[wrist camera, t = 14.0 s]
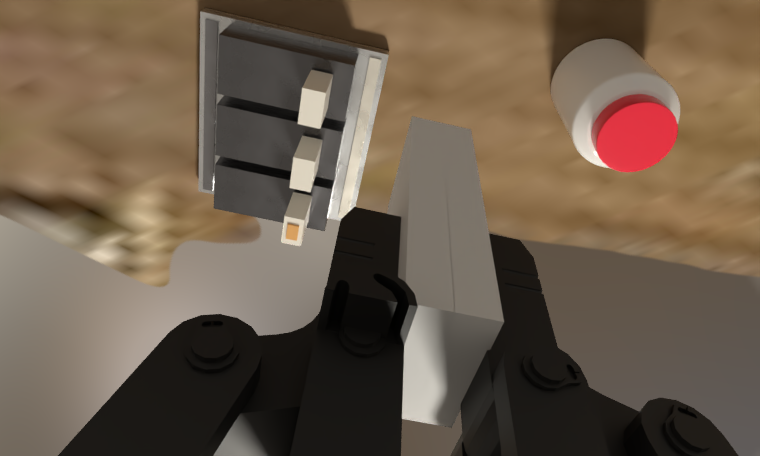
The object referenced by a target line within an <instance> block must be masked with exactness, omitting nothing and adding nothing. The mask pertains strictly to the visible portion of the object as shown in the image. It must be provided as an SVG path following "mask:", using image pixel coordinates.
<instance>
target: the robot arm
mask: <svg viewBox="0 0 760 456" xmlns="http://www.w3.org/2000/svg"><path fill="white" fill-rule="evenodd" d="M460 410H461V419H462V435H461V437H460V439H459V440H458V442H457V444H456V446H455V448H454V450H453V452H452V454H451V456H738V455H737V453H736V452H735V451H734V449H733V448H732V446H731V445H730V444H729V442H728V441H727V440H726V438H725V437H724V436H723V434H722V433H721V432H720V431H719V430H718V429H717V428H716V427H715V426H714V424H713V423H712V422H711V421H710V420H709V419H707V418H706V417H705V416H703V415H702V414H701V413H699V412H698V411H696V410H695V409H694V408H692V407H690V406H688V405H685V404H683V403H681V402H679V401H676V400H671V399H665V398H658V399H654V400H650V401H648V402H647V403H646V404H645V406H644V407H643V408H642V409H641V411H640V412H639V411H636V410H634V409H632V408H630V407H628V406H626V405H623V404H621V403H619V402H617V401H615V400H613V399H610V398H608V397H606V396H604V395H602V394H600V393H598V392H597V391H595V390H593V389H591V388H590V387H589V386H588V383H587V380H586V378H585V376H584V374H583V372H582V370H581V368H580V367H579V366H578V364H577V363H576V362H575V361H574V360H573V359H572V358H571V357H570V356H569V355H568V354H567V353H565V352H563V351H562V350H560V349H559V348H558V347H557V343H556V339H555V336H554V332H553V328H552V325H551V321H550V318H549V313H548V310H547V306H546V302H545V299H544V295H543V294H542V288H541V284H540V280H539V279H538V273H537V269H536V265H535V262H534V258H533V256H532V255H531V254H530V253H529V251H528V250H527V249H526V248H525V246H524V245H523V244H522V242H521V241H520V240H517V239H512V238H507V237H503V236H498V235H493V234H489V231H488V226H487V220H486V214H485V208H484V202H483V197H482V191H481V185H480V179H479V173H478V168H477V162H476V156H475V150H474V144H473V139H472V133H471V129H466V128H462V127H458V126H453V125H449V124H444V123H440V122H435V121H431V120H426V119H422V118H417V117H413V116H412V118H411V122H410V126H409V130H408V133H407V137H406V141H405V145H404V149H403V152H402V156H401V160H400V164H399V167H398V171H397V175H396V179H395V183H394V186H393V190H392V194H391V198H390V202H389V205H388V214H385V213H381V212H376V211H371V210H366V209H362V208H357V207H353V208H352V209H351V210H350V211H349V212H348V213H347V214H346V215H345V216H344V217H343V218H342V219H341V222H340V226H339V231H338V236H337V240H336V246H335V249H334V254H333V259H332V263H331V268H330V273H329V277H328V282H327V286H326V287H325V291H324V296H323V301H322V306H321V310H320V312H319V314H318V315H317V316H316V318H315V319H314V320H313V321H312V322H311V323H309V324H308V325H306V326H305V327H303V328H301V329H298V330H296V331H293V332H289V333H284V334H277V335H263V336H258V335H257V334H256V332H255V331H254V329H253V328H252V327H251V326H249V325H248V324H246V323H245V322H243V321H241V320H239V319H238V318H234V317H230V316H225V315H221V314H215V315H201V316H198V317H195V318H192V319H189V320H187V321H184V322H182V323H181V324H180V325H178V326H177V327H176V328H174V329H173V330H172V331H170V332H169V333H168V334H167V335H166V337H165V338H164V339H163V340H162V341H161V342H160V343H159V344H158V346H157V347H156V348H155V349H154V350H153V351H152V352H151V353H150V354H149V355H148V356H147V358H146V359H145V360H144V361H143V362H142V363H141V364H140V365H139V366H138V368H137V369H136V370H135V371H134V372H133V373H132V374H131V375H130V376H129V378H128V379H127V380H126V381H125V382H124V383H123V384H122V385H121V387H119V389H118V390H117V391H116V392H115V393H114V394H113V395H112V396H111V398H110V399H109V400H108V401H107V402H106V403H105V404H104V405H103V406H102V407H101V409H100V410H99V411H98V412H97V413H96V414H95V415H94V416H93V417H92V419H91V420H90V421H89V422H88V423H87V424H86V425H85V426H84V428H83V429H82V430H81V431H80V432H79V433H78V434H77V435H76V436H75V437H74V439H73V440H72V441H71V442H70V443H69V444H68V445H67V446H66V447H65V448H64V450H63V451H62V452H61V453H60V454H59V455H58V456H401V430H402V418H403V419H408V420H413V421H418V422H424V423H429V424H435V425H440V426H445V427H452V426H453V424H454V422H455V420H456V417H457V416H458V414H459V412H460Z"/></svg>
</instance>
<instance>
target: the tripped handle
mask: <svg viewBox="0 0 760 456" xmlns="http://www.w3.org/2000/svg"><path fill="white" fill-rule="evenodd" d="M311 201H312V196H310V195H305V194H300V193H296V192H293V194H292V197H291V200H290V203H289V205H288V208H287V211H286V213H285V216H284V224H283V232H282V240H281V242H282V243H286V244H292V245H297V246H301V244H302V240H303V237H304V234H305V230H306V227H307V224H308V220H309V213H310V207H311Z"/></svg>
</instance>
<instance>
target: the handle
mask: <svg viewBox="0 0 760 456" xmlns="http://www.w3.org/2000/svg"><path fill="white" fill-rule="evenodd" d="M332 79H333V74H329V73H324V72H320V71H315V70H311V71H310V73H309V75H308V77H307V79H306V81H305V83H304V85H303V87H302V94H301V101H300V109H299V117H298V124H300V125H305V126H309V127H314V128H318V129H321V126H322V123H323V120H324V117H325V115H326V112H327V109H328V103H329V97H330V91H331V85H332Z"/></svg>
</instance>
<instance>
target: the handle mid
mask: <svg viewBox="0 0 760 456" xmlns="http://www.w3.org/2000/svg"><path fill="white" fill-rule="evenodd" d="M322 141H323V140H321V139H316V138H311V137H307V136H302V138H301V140H300V142H299V145H298V147H297V150H296V152H295V154H294V157H293V164H292V172H291V179H290V187H289V188H292V189H297V190H302V191H306V192H311V189H312V186H313V183H314V180H315V177H316V173H317V170H318V165H319V159H320V153H321V147H322Z"/></svg>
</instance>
